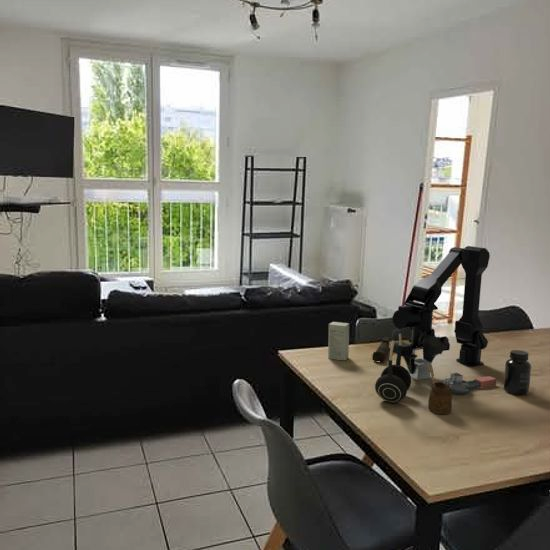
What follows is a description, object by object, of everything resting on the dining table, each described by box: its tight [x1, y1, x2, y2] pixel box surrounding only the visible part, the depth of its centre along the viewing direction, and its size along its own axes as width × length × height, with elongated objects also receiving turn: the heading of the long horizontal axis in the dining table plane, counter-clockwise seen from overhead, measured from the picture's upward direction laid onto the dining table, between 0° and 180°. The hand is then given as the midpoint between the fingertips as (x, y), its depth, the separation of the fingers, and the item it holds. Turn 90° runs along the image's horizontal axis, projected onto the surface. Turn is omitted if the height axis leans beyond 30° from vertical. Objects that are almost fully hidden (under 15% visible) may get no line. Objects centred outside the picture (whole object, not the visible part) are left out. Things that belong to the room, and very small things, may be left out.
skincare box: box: [327, 321, 350, 361], centre depth 178 cm, size 6×4×12 cm
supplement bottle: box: [503, 349, 532, 396], centre depth 152 cm, size 7×7×12 cm
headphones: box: [374, 328, 412, 403], centre depth 145 cm, size 9×15×20 cm, turn 157°
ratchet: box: [442, 372, 497, 396], centre depth 155 cm, size 18×7×5 cm, turn 114°
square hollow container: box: [406, 357, 432, 381], centre depth 163 cm, size 5×5×5 cm
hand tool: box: [371, 336, 391, 363], centre depth 184 cm, size 19×4×5 cm, turn 156°
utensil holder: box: [427, 363, 454, 415], centre depth 138 cm, size 6×6×12 cm
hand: (418, 372), depth 163 cm, fingers open, 5 cm apart
